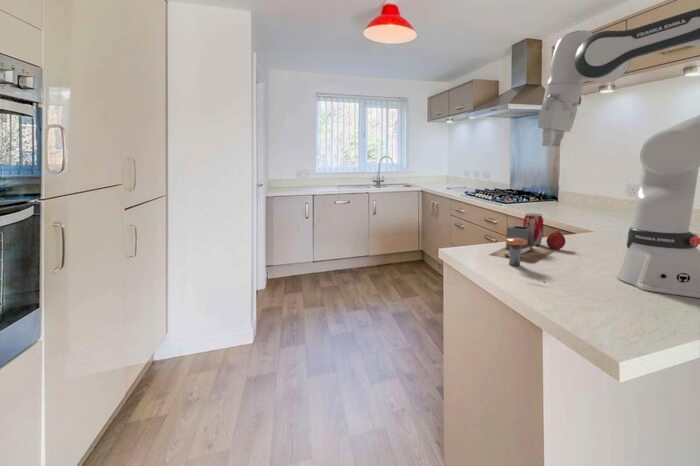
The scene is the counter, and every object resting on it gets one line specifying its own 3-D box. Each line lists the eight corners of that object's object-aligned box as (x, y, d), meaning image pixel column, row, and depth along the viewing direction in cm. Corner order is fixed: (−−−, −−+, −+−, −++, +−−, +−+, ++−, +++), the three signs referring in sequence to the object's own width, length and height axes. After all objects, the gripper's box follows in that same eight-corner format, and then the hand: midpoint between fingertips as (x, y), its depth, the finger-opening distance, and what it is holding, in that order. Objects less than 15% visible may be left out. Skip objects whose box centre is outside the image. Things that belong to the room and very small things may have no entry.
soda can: (544, 246, 133) (547, 215, 130) (526, 246, 133) (528, 215, 130) (535, 242, 140) (538, 213, 137) (517, 242, 140) (520, 213, 137)
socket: (532, 249, 124) (534, 227, 122) (526, 252, 120) (528, 230, 118) (511, 246, 129) (513, 225, 127) (505, 249, 125) (507, 227, 123)
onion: (547, 252, 123) (550, 230, 122) (544, 249, 129) (546, 227, 127) (566, 253, 121) (568, 231, 120) (561, 249, 127) (563, 228, 125)
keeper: (530, 249, 113) (529, 245, 114) (525, 252, 110) (523, 248, 110) (511, 254, 118) (509, 251, 118) (505, 257, 115) (504, 254, 115)
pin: (527, 267, 106) (530, 239, 104) (520, 272, 102) (523, 242, 100) (508, 264, 110) (510, 236, 108) (500, 268, 106) (502, 239, 104)
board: (554, 253, 121) (554, 251, 121) (535, 266, 107) (535, 262, 107) (510, 247, 132) (510, 244, 131) (488, 257, 118) (488, 254, 118)
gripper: (563, 91, 89) (551, 146, 93) (583, 100, 103) (572, 147, 107) (537, 92, 93) (527, 144, 97) (559, 100, 107) (550, 146, 111)
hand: (551, 146), depth 102 cm, fingers open, 8 cm apart
